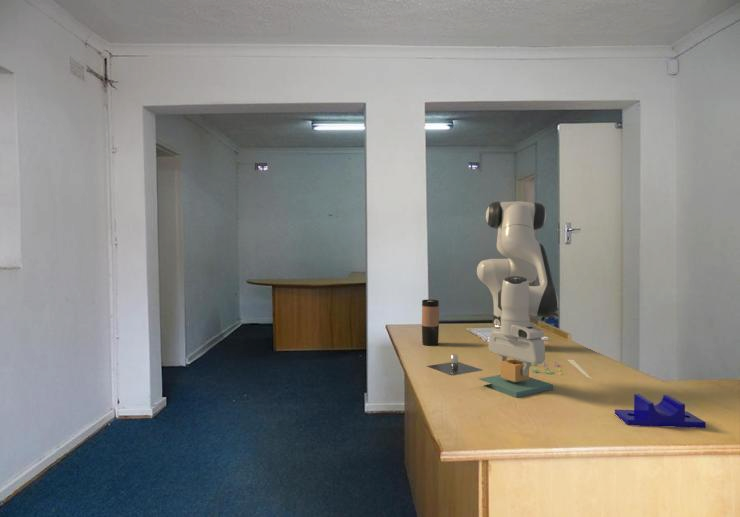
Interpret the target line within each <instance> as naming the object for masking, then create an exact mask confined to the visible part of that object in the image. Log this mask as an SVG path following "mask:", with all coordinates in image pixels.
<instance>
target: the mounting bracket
mask: <svg viewBox="0 0 740 517" xmlns="http://www.w3.org/2000/svg"><path fill="white" fill-rule="evenodd" d="M633 396H634V397H633V400H634V401H633V409H617V408H616V409H614V415H615V414H616V415H617V416H618V417H619V418H620V420H621V419H622V420H623V421H624V422H625V423H624V422H623V421H622V420H621V421H622V422H623V423H624V424H625V425H627V426H631V425H640V426H639V427H661V426H675V427H674V428H691V427H696V428H695V429H706V425H707V423H706V421H705V420H704V419H702V418H699V417H698V416H696V415H695V414H692V413H691V412H689V411H686V404H685V403H683V402H681V401H680V400H678V399H677V398H675V397H672V396H671V395H669V394H663V395H662V399H661V401H659V403H657V404H655V403H654V402H652V401H651V400H649V399H647V398H646V397H644V396H643V395H642V394H640V393H633ZM616 415H615V416H616ZM617 416H616V417H617ZM618 417H617V418H618ZM619 418H618V419H619ZM698 427H699V428H698Z"/></svg>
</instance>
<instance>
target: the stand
mask: <svg viewBox="0 0 740 517" xmlns="http://www.w3.org/2000/svg"><path fill="white" fill-rule="evenodd" d="M426 367H428V368H430V369H433V370H436V371H439V372H440V373H444V374H446V375H449V376H457V375H458V376H459V375H464V374H465V375H466V374H468V373H469V374H470V373H475V372H482V371H483V369H482V368H478V367H475V366H472V365H469V364H466V363H463V362H460V361H459V355H458V354H451V355H450V361H449V362H443V363H437V364H432V365H427V366H426Z"/></svg>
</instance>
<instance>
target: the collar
mask: <svg viewBox="0 0 740 517" xmlns="http://www.w3.org/2000/svg"><path fill="white" fill-rule="evenodd" d="M523 367H524V365H523V361H521V360H520V361H518V360H517V359H509V360H507V361H501V360H500V375H501V378H504V379H507V380H510V381H513V382H518V381H523V380H528V379H529V377H530V368H529V369H528V375H527V376H523V375H521V374H520V373H521V372H520V369H523Z"/></svg>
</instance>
